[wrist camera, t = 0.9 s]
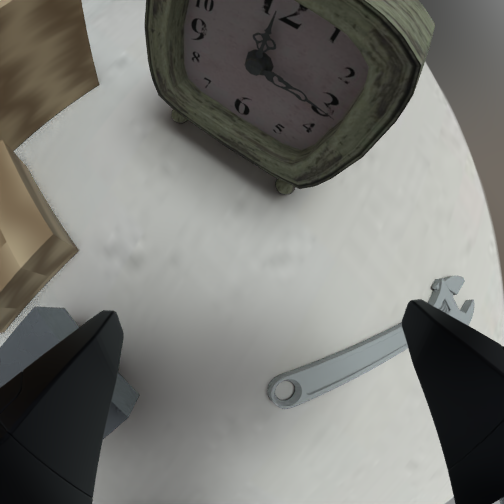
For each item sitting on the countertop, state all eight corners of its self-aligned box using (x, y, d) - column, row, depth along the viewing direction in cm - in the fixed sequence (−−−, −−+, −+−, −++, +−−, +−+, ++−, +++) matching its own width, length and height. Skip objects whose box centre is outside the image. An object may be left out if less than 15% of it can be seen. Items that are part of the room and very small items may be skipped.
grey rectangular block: (103, 419, 17) (69, 466, 9) (44, 351, 17) (-14, 366, 9) (147, 379, 19) (128, 417, 11) (84, 308, 18) (35, 306, 11)
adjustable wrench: (269, 409, 21) (276, 416, 19) (253, 332, 22) (258, 334, 20) (465, 322, 27) (476, 322, 25) (457, 270, 28) (468, 267, 26)
